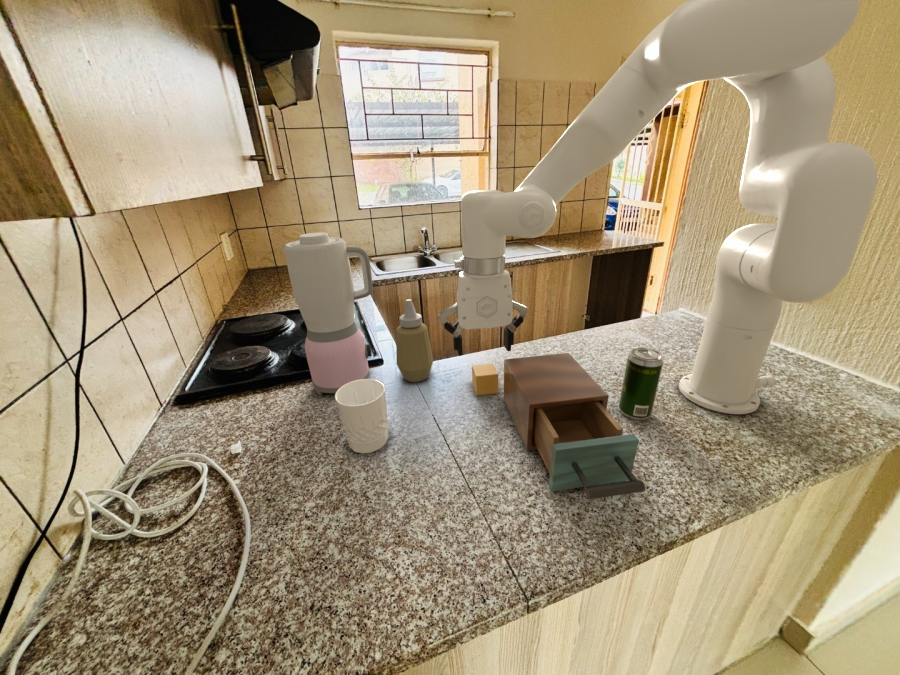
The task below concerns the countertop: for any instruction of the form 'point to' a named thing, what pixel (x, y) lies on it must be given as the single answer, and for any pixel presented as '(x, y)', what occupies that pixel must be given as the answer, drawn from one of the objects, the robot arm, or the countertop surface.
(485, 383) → the mustard brown cube
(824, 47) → the robot arm
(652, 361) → the beer can
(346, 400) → the white cup
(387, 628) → the countertop surface
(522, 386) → the wooden drawer cabinet
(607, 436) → the open teal drawer
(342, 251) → the blender
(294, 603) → the countertop surface
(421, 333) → the squeeze bottle
